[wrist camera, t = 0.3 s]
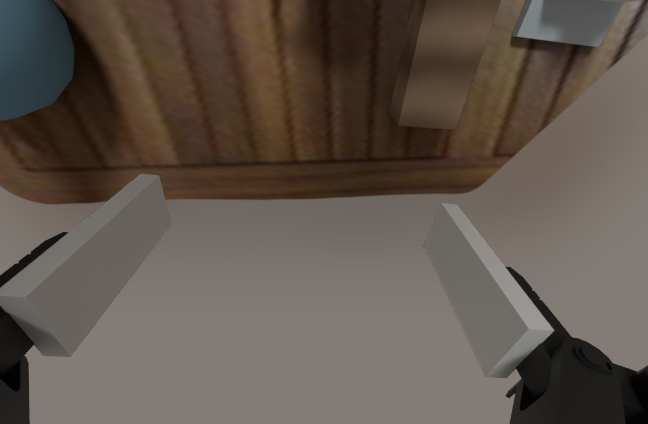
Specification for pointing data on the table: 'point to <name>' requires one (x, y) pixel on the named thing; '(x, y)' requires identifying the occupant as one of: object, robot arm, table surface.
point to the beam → (440, 60)
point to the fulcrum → (568, 20)
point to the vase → (32, 56)
